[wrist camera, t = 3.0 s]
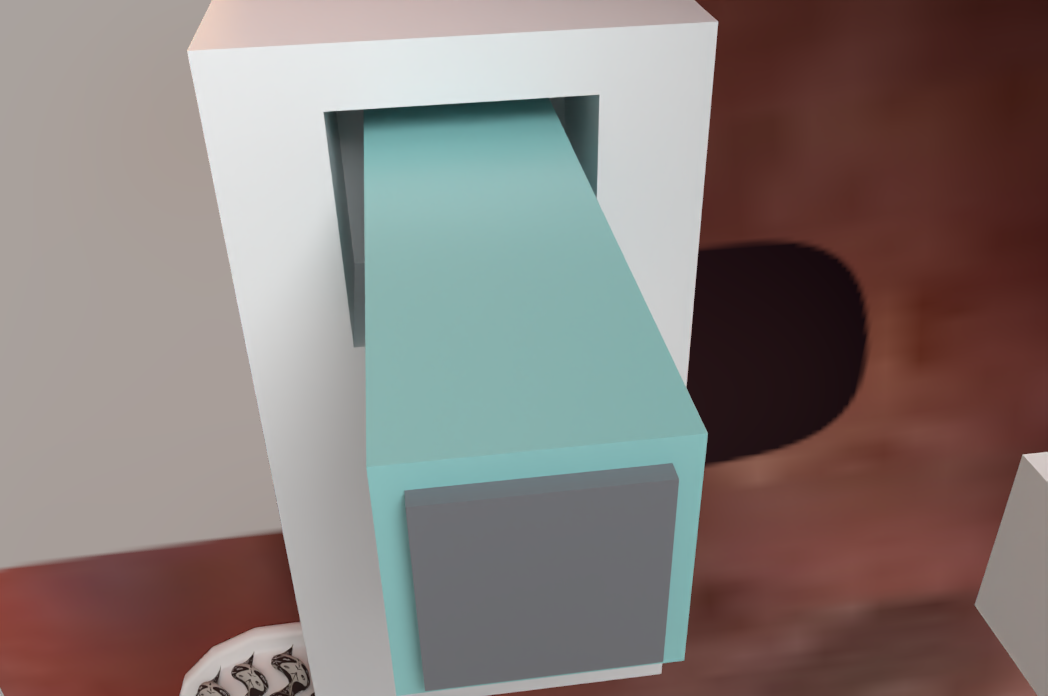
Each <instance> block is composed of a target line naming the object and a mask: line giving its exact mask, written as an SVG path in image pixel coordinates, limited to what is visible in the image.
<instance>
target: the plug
mask: <svg viewBox="0 0 1048 696" xmlns="http://www.w3.org/2000/svg"><path fill="white" fill-rule="evenodd" d="M363 111H364V240H365V370H366V469H367V477H368V484H369V492H370V500H371V507H372V515H373V522H374V530H375V538H376V545H377V553H378V560H379V568H380V576H381V583H382V591H383V598H384V606H385V614H386V621H387V629H388V636H389V644H390V652H391V659H392V667H393V674H394V682H395V690H396V696H401V695H409V694H417V693H425V692H433V691H442V690H450V689H458V688H466V687H474V686H482V685H490V684H498V683H506V682H514V681H523V680H531V679H539V678H547V677H555V676H563V675H571V674H579V673H587V672H596V671H604V670H612V669H620V668H628V667H636V666H644V665H652V664H660V663H668V662H677V661H684V656H685V647H686V637H687V628H688V618H689V609H690V599H691V590H692V580H693V570H694V561H695V551H696V542H697V532H698V523H699V513H700V503H701V494H702V484H703V475H704V465H705V456H706V446H707V436H708V433H707V431H706V428H705V426H704V424H703V422H702V420H701V418H700V416H699V414H698V412H697V409H696V407H695V405H694V403H693V401H692V399H691V397H690V395H689V393H688V390H687V388H686V386H685V384H684V382H683V380H682V378H681V376H680V374H679V371H678V369H677V367H676V365H675V363H674V361H673V359H672V357H671V355H670V352H669V350H668V348H667V346H666V344H665V342H664V340H663V338H662V336H661V333H660V331H659V329H658V327H657V325H656V323H655V321H654V319H653V317H652V314H651V312H650V310H649V308H648V306H647V304H646V302H645V300H644V298H643V295H642V293H641V291H640V289H639V287H638V285H637V283H636V281H635V279H634V277H633V274H632V272H631V270H630V268H629V266H628V264H627V262H626V260H625V258H624V255H623V253H622V251H621V249H620V247H619V245H618V243H617V241H616V239H615V236H614V234H613V232H612V230H611V228H610V226H609V224H608V222H607V220H606V217H605V215H604V213H603V211H602V209H601V207H600V205H599V203H598V201H597V198H596V196H595V194H594V192H593V190H592V188H591V186H590V184H589V182H588V179H587V177H586V175H585V173H584V171H583V169H582V167H581V165H580V163H579V160H578V158H577V156H576V154H575V152H574V150H573V148H572V146H571V144H570V141H569V139H568V137H567V135H566V133H565V131H564V129H563V127H562V125H561V122H560V120H559V118H558V116H557V114H556V112H555V110H554V108H553V106H552V104H551V101H550V99H549V98H537V99H521V100H505V101H489V102H473V103H456V104H440V105H424V106H408V107H392V108H376V109H363Z"/></svg>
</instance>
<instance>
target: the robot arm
mask: <svg viewBox="0 0 1048 696" xmlns="http://www.w3.org/2000/svg"><path fill="white" fill-rule="evenodd" d="M975 606H976V608H977V609H978V611H979V612H980V614H981V615H982V617H983V618H984V619H985V621H986V622H987V624H988V625H989V627H990V628H991V629H992V631H993V632H994V634H995V635H996V637H997V638H998V639H999V641H1000V642H1001V644H1002V645H1003V647H1004V648H1005V649H1006V651H1007V652H1008V654H1009V655H1010V657H1011V658H1012V660H1013V661H1014V662H1015V664H1016V665H1017V667H1018V668H1019V670H1020V671H1021V672H1022V674H1023V675H1024V677H1025V678H1026V680H1027V681H1028V682H1029V684H1030V685H1031V687H1032V688H1033V690H1034V691H1035V693H1036V694H1037V695H1038V696H1048V452H1042V453H1033V454H1024V455H1022V458H1021V461H1020V464H1019V468H1018V471H1017V474H1016V477H1015V480H1014V483H1013V486H1012V490H1011V493H1010V496H1009V499H1008V502H1007V505H1006V508H1005V511H1004V515H1003V518H1002V521H1001V524H1000V527H999V530H998V533H997V537H996V540H995V543H994V546H993V549H992V552H991V555H990V559H989V562H988V565H987V568H986V571H985V574H984V577H983V581H982V584H981V587H980V590H979V593H978V596H977V599H976V602H975ZM0 696H4V695H3V693H2V691H1V688H0Z"/></svg>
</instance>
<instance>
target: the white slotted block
mask: <svg viewBox="0 0 1048 696" xmlns="http://www.w3.org/2000/svg"><path fill="white" fill-rule="evenodd" d="M717 30H718V21H717V20H716V19H715V18H714V17H713V16H711V15H710V14H709V13H708V12H707V11H706V10H705V9H704V8H702V7H701V6H700V5H699V4H698V3H697V2H696V1H695V0H212V1H211V3H210V5H209V8H208V9H207V12H206V13H205V16H204V18H203V20H202V22H201V24H200V26H199V28H198V30H197V32H196V34H195V36H194V38H193V40H192V42H191V44H190V46H189V48H188V50H187V53H188V58H189V63H190V68H191V73H192V78H193V83H194V88H195V94H196V98H197V103H198V108H199V114H200V118H201V123H202V129H203V134H204V139H205V144H206V149H207V154H208V159H209V164H210V169H211V174H212V179H213V183H214V189H215V194H216V199H217V204H218V209H219V214H220V219H221V224H222V229H223V234H224V239H225V244H226V249H227V254H228V259H229V264H230V270H231V274H232V279H233V285H234V290H235V294H236V300H237V304H238V310H239V315H240V320H241V325H242V330H243V335H244V340H245V345H246V350H247V355H248V360H249V365H250V370H251V375H252V380H253V385H254V390H255V395H256V400H257V405H258V410H259V415H260V420H261V425H262V430H263V435H264V440H265V445H266V451H267V455H268V461H269V465H270V470H271V475H272V481H273V485H274V491H275V496H276V501H277V506H278V511H279V515H280V521H281V526H282V531H283V536H284V541H285V546H286V551H287V556H288V561H289V566H290V571H291V576H292V581H293V586H294V591H295V596H296V601H297V606H298V611H299V616H300V621H301V626H302V632H303V637H304V642H305V647H306V652H307V657H308V662H309V667H310V672H311V677H312V682H313V687H314V692H315V696H396V690H395V682H394V674H393V667H392V659H391V652H390V644H389V636H388V629H387V621H386V614H385V606H384V598H383V591H382V583H381V576H380V568H379V560H378V553H377V545H376V538H375V530H374V522H373V515H372V507H371V500H370V492H369V484H368V477H367V469H366V370H365V240H364V111H363V109H376V108H392V107H408V106H424V105H440V104H456V103H473V102H489V101H505V100H521V99H537V98H549V99H550V101H551V104H552V106H553V108H554V110H555V112H556V114H557V116H558V118H559V120H560V122H561V125H562V127H563V129H564V131H565V133H566V135H567V137H568V139H569V141H570V144H571V146H572V148H573V150H574V152H575V154H576V156H577V158H578V160H579V163H580V165H581V167H582V169H583V171H584V173H585V175H586V177H587V179H588V182H589V184H590V186H591V188H592V190H593V192H594V194H595V196H596V198H597V201H598V203H599V205H600V207H601V209H602V211H603V213H604V215H605V217H606V220H607V222H608V224H609V226H610V228H611V230H612V232H613V234H614V236H615V239H616V241H617V243H618V245H619V247H620V249H621V251H622V253H623V255H624V258H625V260H626V262H627V264H628V266H629V268H630V270H631V272H632V274H633V277H634V279H635V281H636V283H637V285H638V287H639V289H640V291H641V293H642V295H643V298H644V300H645V302H646V304H647V306H648V308H649V310H650V312H651V314H652V317H653V319H654V321H655V323H656V325H657V327H658V329H659V331H660V333H661V336H662V338H663V340H664V342H665V344H666V346H667V348H668V350H669V352H670V355H671V357H672V359H673V361H674V363H675V365H676V367H677V369H678V371H679V374H680V376H681V378H682V380H683V382H684V384H685V386H687V374H688V362H689V350H690V339H691V328H692V316H693V305H694V294H695V293H694V292H695V282H696V270H697V258H698V248H699V236H700V225H701V213H702V202H703V190H704V179H705V167H706V156H707V145H708V133H709V122H710V110H711V99H712V87H713V76H714V64H715V53H716V41H717ZM661 672H662V663H660V664H652V665H644V666H636V667H628V668H620V669H612V670H604V671H596V672H587V673H579V674H571V675H563V676H555V677H547V678H539V679H531V680H523V681H514V682H506V683H498V684H490V685H482V686H474V687H466V688H458V689H450V690H442V691H433V692H425V693H417V694H409V695H401V696H487V695H495V694H503V693H511V692H519V691H527V690H535V689H543V688H551V687H559V686H567V685H576V684H584V683H592V682H600V681H608V680H616V679H624V678H632V677H640V676H648V675H656V674H661Z"/></svg>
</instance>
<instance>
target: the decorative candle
mask: <svg viewBox="0 0 1048 696" xmlns="http://www.w3.org/2000/svg"><path fill="white" fill-rule="evenodd" d="M179 696H315V692H314V687H313V682H312V677H311V672H310V667H309V662H308V657H307V652H306V647H305V642H304V637H303V632H302V626H301V621H300V622H293V623H285V624H278V625H270V626H263V627H256V628H253V629H251V630H248V631H246V632H244V633H242V634H240V635H237V636H235V637H233V638H231V639H228V640H226V641H224V642H222V643H220V644H217V645H215V646H213V647H212V648H211V649H210V650H209V651H208V652H207V653H206V654H205V655H204V656H203V657H202V658H201V659H200V660H199V661H198V662H197V663H196V664H195V665H194V666H193V667H192V668H191V669H190V670H189V671H188V672H187V673H186V674H185V677H184V680H183V684H182V688H181V691H180V695H179Z"/></svg>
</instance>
